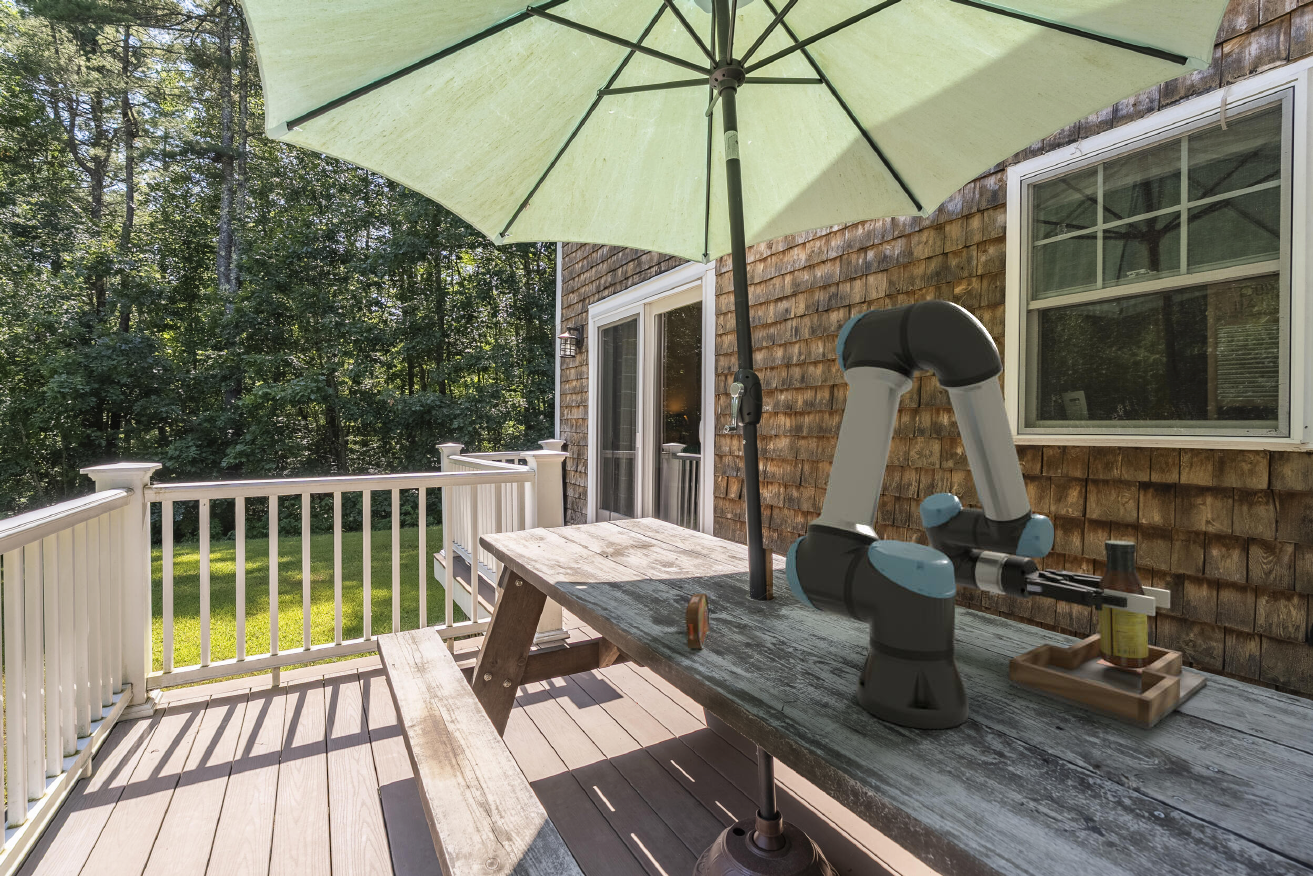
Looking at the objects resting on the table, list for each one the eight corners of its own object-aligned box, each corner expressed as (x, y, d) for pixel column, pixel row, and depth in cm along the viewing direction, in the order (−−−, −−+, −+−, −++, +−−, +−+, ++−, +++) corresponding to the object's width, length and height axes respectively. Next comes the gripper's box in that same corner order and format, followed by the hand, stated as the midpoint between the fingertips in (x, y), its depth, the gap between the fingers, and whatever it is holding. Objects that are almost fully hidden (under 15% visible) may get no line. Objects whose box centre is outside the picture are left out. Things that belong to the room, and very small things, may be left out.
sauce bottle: (1157, 667, 99) (1158, 544, 98) (1132, 673, 96) (1133, 547, 96) (1113, 653, 105) (1114, 537, 104) (1089, 658, 102) (1090, 540, 102)
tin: (700, 656, 111) (700, 609, 111) (683, 655, 111) (683, 608, 111) (710, 629, 125) (710, 588, 125) (695, 628, 126) (695, 588, 126)
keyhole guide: (1148, 730, 82) (1148, 700, 82) (1008, 685, 97) (1009, 660, 97) (1206, 683, 97) (1206, 658, 97) (1077, 650, 112) (1077, 628, 112)
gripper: (1031, 587, 121) (1181, 616, 102) (982, 603, 110) (1139, 639, 91) (1032, 549, 121) (1181, 571, 102) (982, 561, 110) (1140, 588, 91)
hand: (1161, 603), depth 96 cm, fingers closed on sauce bottle, 6 cm apart
